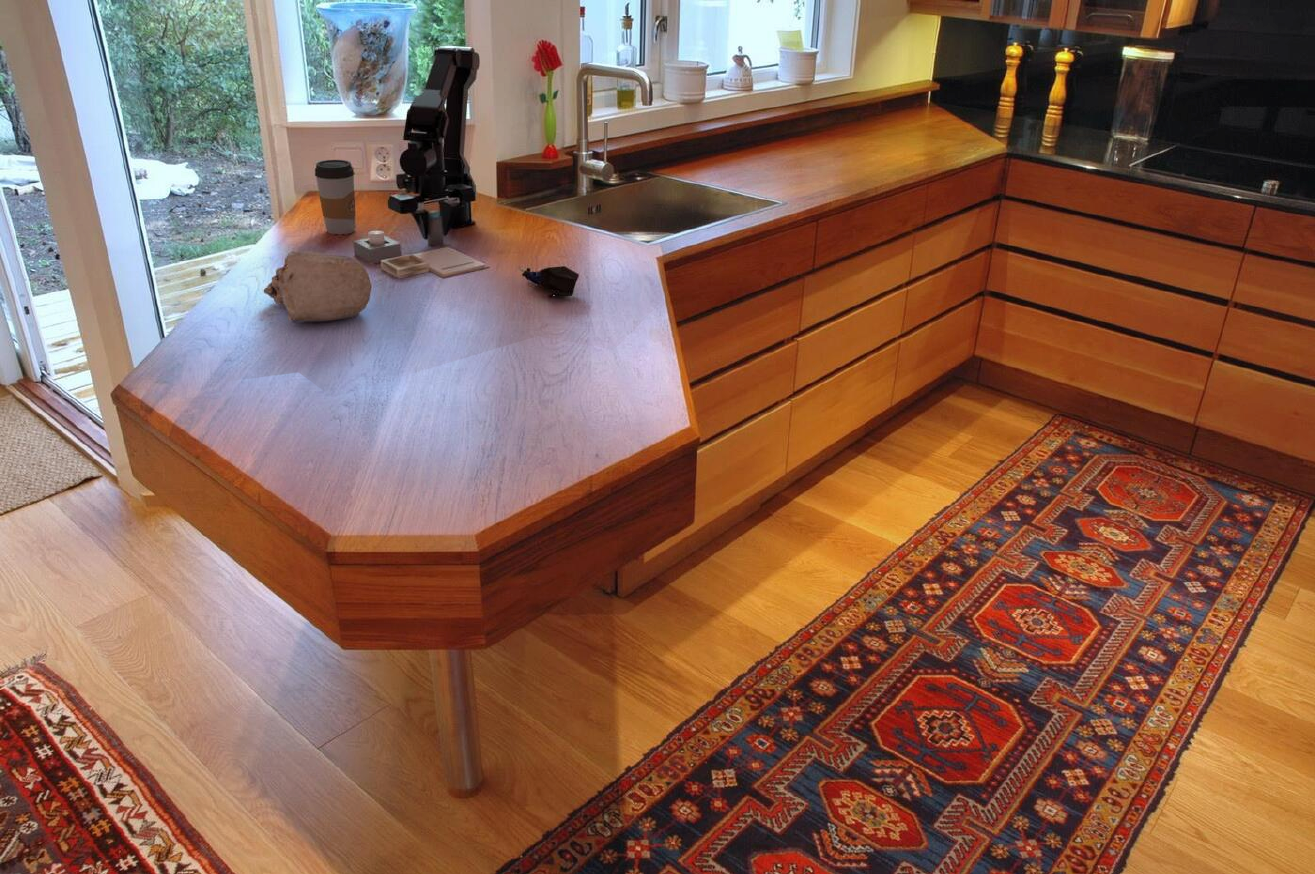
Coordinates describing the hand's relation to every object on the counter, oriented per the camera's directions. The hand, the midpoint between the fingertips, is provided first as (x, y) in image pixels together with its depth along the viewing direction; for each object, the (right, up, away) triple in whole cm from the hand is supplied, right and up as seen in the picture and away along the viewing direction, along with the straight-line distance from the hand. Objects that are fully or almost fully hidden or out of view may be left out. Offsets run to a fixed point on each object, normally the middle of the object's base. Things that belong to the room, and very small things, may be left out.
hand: (435, 237), depth 220 cm
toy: (+27, -15, -21) cm, 38 cm away
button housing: (-10, -6, -8) cm, 14 cm away
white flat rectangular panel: (+4, -7, -10) cm, 13 cm away
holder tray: (-3, -10, -15) cm, 18 cm away
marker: (0, -1, +1) cm, 2 cm away
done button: (-10, -4, -9) cm, 14 cm away
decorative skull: (-13, -21, -36) cm, 44 cm away
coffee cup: (-22, +2, +6) cm, 23 cm away
